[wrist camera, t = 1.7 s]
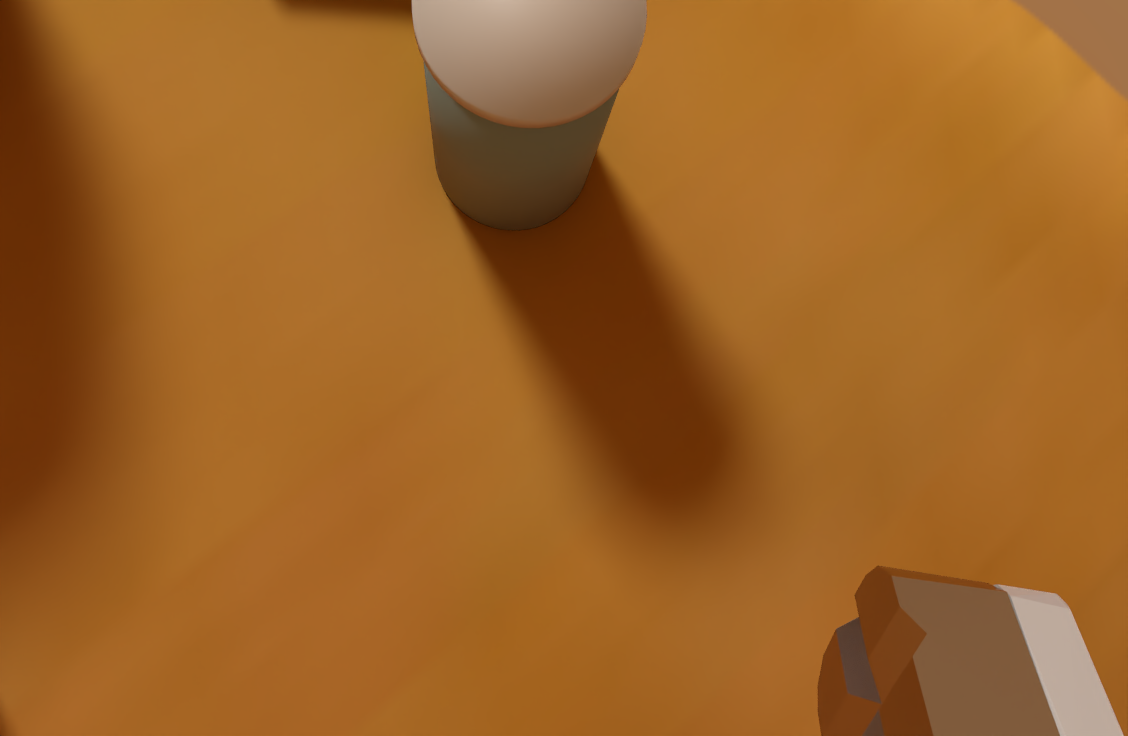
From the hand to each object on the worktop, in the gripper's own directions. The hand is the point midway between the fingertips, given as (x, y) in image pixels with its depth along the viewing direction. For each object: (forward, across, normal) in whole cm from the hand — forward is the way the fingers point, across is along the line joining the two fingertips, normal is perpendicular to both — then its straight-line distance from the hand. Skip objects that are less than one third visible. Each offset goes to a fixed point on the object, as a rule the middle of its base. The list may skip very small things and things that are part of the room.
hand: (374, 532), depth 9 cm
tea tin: (+28, 0, +11) cm, 30 cm away
